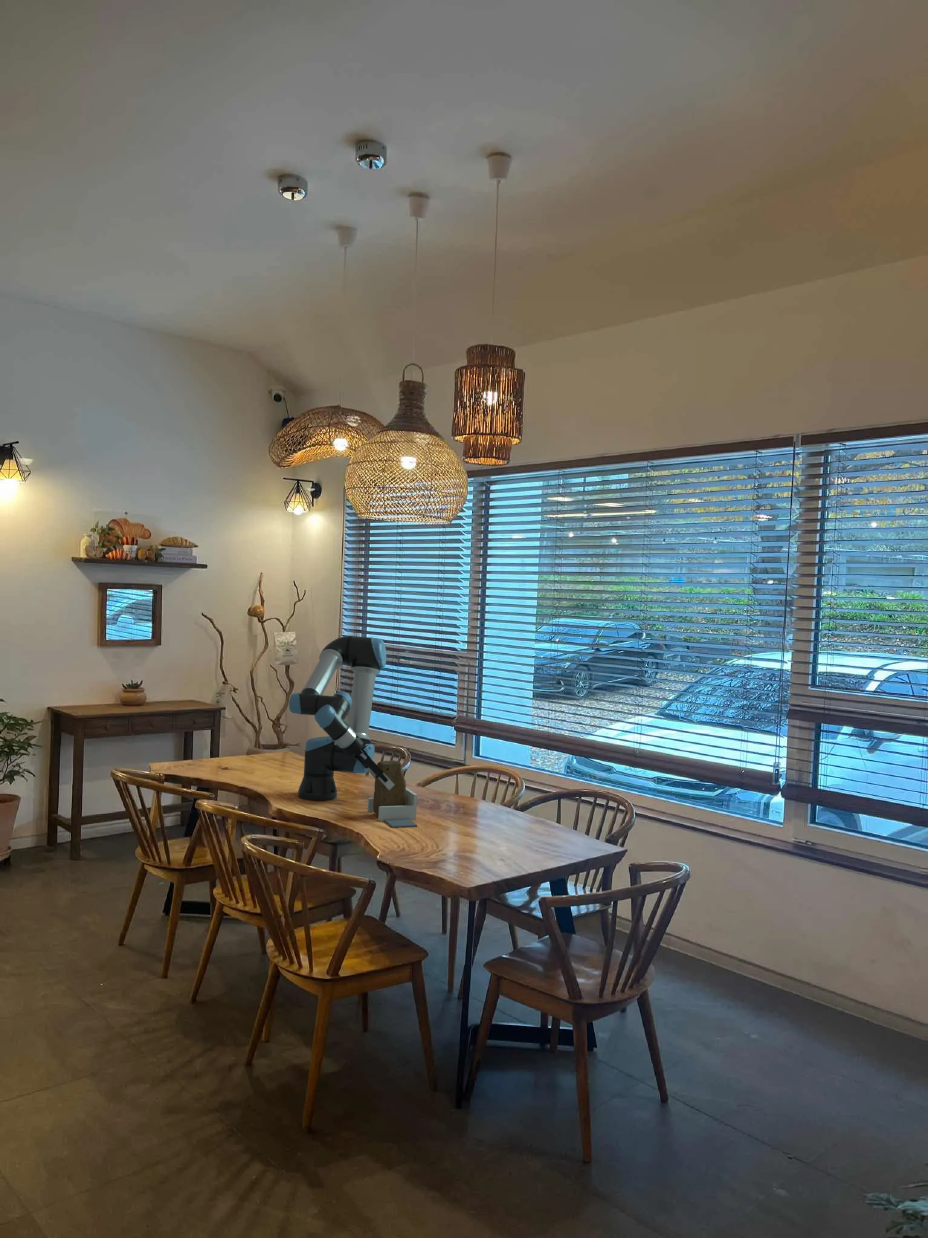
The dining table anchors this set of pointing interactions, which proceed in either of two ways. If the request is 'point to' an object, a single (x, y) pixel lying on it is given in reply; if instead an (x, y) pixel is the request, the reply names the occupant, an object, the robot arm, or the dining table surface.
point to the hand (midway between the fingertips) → (386, 783)
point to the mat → (400, 823)
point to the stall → (397, 808)
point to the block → (396, 792)
